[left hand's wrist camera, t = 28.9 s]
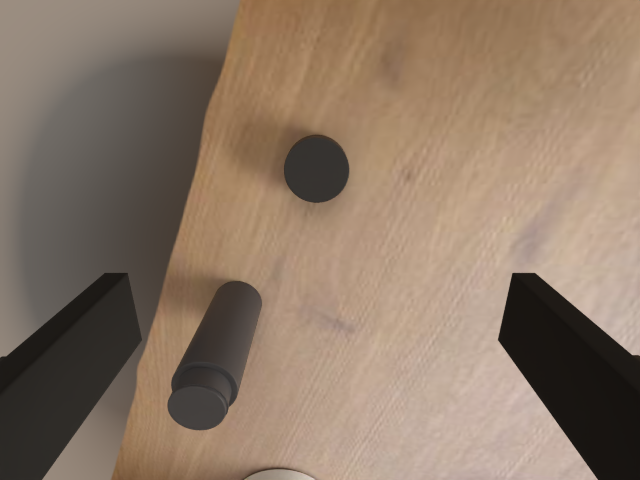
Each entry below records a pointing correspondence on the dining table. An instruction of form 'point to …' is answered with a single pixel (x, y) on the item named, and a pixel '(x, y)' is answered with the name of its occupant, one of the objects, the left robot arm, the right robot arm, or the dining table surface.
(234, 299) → the bottle
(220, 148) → the dining table surface
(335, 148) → the lid
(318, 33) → the dining table surface
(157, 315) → the dining table surface
